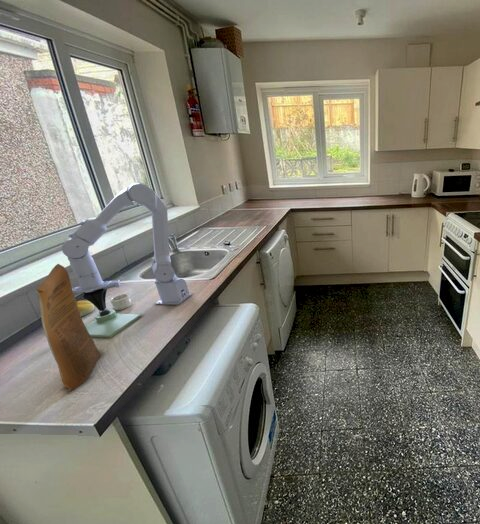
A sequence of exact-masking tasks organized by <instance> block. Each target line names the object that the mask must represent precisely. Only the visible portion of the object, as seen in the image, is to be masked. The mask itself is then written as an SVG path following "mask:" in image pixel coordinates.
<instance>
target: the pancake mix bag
mask: <svg viewBox="0 0 480 524" xmlns="http://www.w3.org/2000/svg"><path fill="white" fill-rule="evenodd" d="M72 288H73V287H72V283H71V278H70V275H69V274H68V270H67V269H66V268H65V266H63V265H61V263H57V264H55V265H54V267H53V268H52V269H51V271H50V272H49V273H48V275H47V276H46V278H45V279H44V280H43V281H42V282H41V283H40V284H39V285H38V286H37V287H36V288H35V290H36V291H37V293H36V296H37V298H38V303H39V309H40V319H41V325H42V329H43V332H44V335H45V338H46V341H47V345H48V347H49V349H50V351H51V353H52V356H53V358H54V360H55V363H56V364H57V367H58V372H59V375H60V379H61V381H62V385H63V387H64V389H68V391H69V392H72V391H74V390H75V389H77V388H78V387H81V386H82V385H83V384H84V383H86V382H87V380H89V379H90V377H91V374H92V372H93V371H94V369H95V367H96V365H97V363H98V361H99V359H100V358H101V355H102V354H101V353H100V351H99V349H98V347H97V345H96V343H95V342H94V340H93V337H91V336H90V334H89V332H88V331H87V329H86V327H85V325H86V324H85V323H84V321H83V319H82V317H81V315H80V312H79V310H78V307H77V301H78V300H77V299H76V296H75V295H74V293H73V291H72Z"/></svg>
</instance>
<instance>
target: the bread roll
mask: <svg viewBox="0 0 480 524" xmlns="http://www.w3.org/2000/svg"><path fill="white" fill-rule="evenodd" d="M76 301H77V307H78V310H79V312H80V315H81V318H82V317H84V316H87V315H88V314H90V313H92V312H93V311H94V310H95V308H96V306H95V305H94V304H92V303H91V302H90V301H88V300H76Z"/></svg>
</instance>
